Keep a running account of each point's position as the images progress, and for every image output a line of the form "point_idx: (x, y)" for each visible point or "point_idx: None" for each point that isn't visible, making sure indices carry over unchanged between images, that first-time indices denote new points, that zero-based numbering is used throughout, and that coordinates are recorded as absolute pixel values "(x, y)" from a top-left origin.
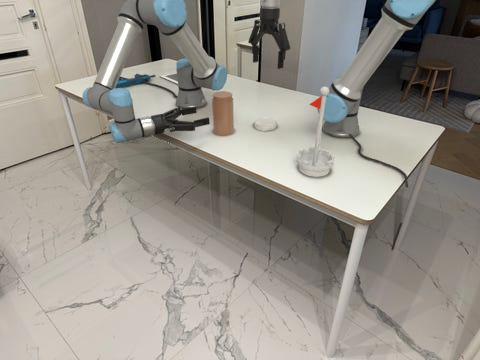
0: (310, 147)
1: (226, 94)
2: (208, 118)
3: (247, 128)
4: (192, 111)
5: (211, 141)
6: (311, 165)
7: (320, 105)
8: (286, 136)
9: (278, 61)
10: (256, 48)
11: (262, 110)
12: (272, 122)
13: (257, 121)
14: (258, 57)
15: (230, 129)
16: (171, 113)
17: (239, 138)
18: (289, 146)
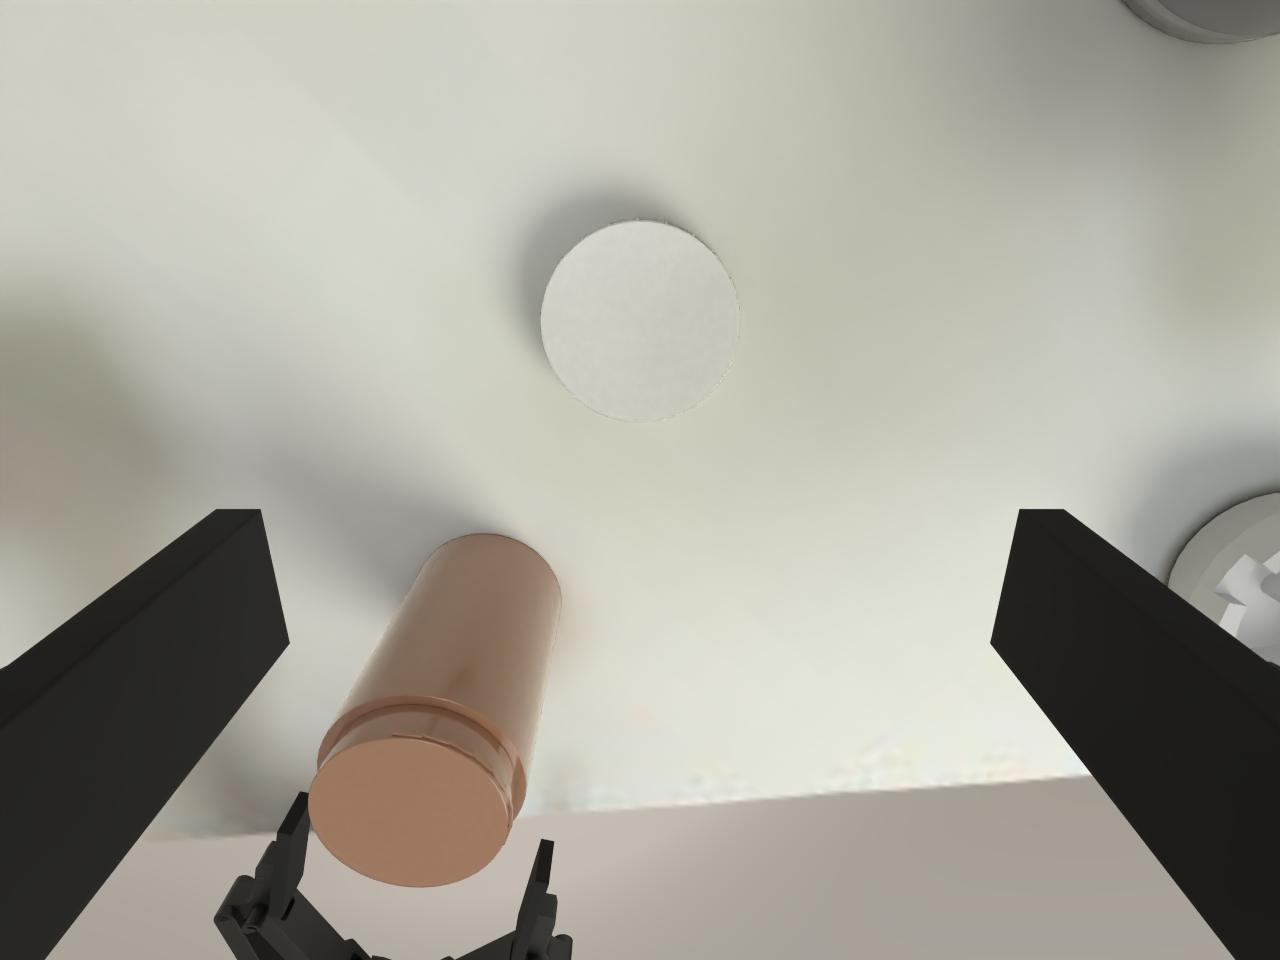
0: (1271, 563)
1: (438, 797)
2: (547, 886)
3: (571, 452)
4: (303, 833)
5: (561, 731)
6: (1255, 587)
7: None
8: (892, 345)
9: (1096, 752)
10: (33, 851)
11: (339, 29)
12: (698, 295)
13: (590, 376)
14: (206, 562)
15: (557, 616)
16: (268, 947)
17: (653, 598)
18: (996, 456)
